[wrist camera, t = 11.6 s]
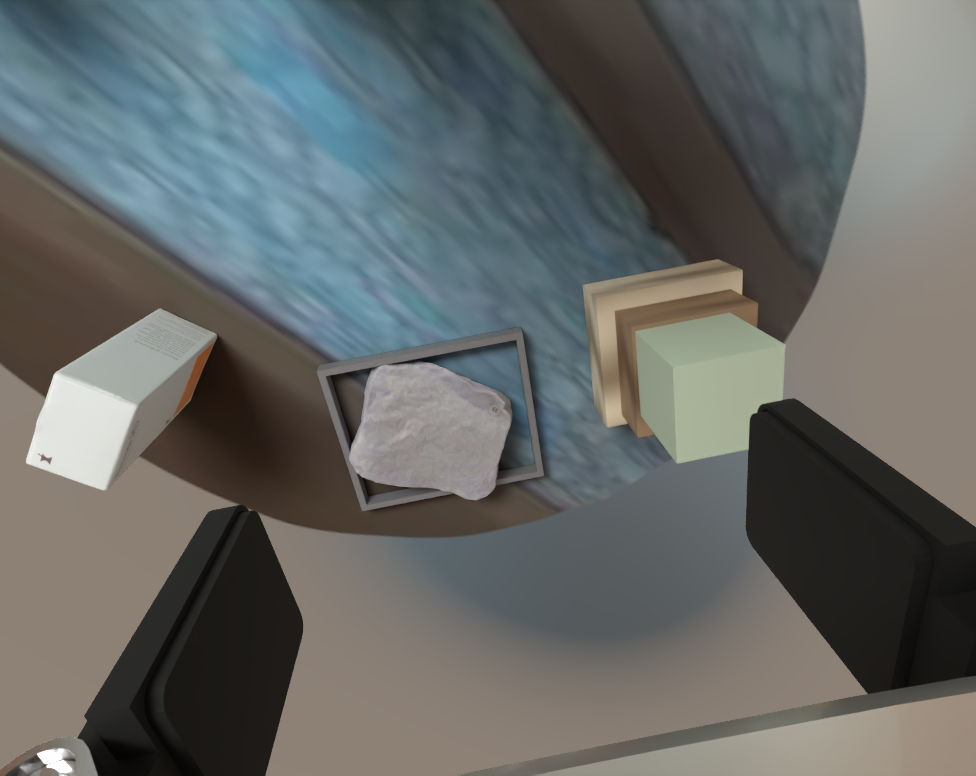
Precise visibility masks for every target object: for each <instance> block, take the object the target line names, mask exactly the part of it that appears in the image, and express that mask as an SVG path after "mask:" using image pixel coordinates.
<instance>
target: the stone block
mask: <svg viewBox="0 0 976 776" xmlns="http://www.w3.org/2000/svg"><path fill="white" fill-rule="evenodd" d="M364 394H365V400H364V407H363V411H362V416H361V424H360V426H359V429H358V431H357V434H356V436H355V439H354V442H353V443H352V446H351V451H350V454H349V460H350V463H351V465H353V467H354V469H355V471H356V472H357V473H358V474H359V475H360V476H361V477H363V478H366V479H369V480H372V481H374V482H376V483H381V484H386V485H395V486H400V487H412V488H418V487H423V488H434V489H439V490H442V491H445V492H452V493H454V494H457V495H459V496H461V497H463V498H465V499H469V500H478V499H481V498H484V497H486V496H488V495H489V494H490V493H491V492H492V491H493V490H494V489H495V485H496V478H497V474H498V463H499V460H500V457H501V453H502V450H503V448H504V444H505V440H506V436H507V434H508V431H509V428H510V425H511V422H512V413H513V412H512V409H511V401H510V400H509V398H508V397H506V396H505V395H504V394H503V393H501V392H500V391H498V390H495V389H493V388H490V387H487V386H485V385H482V384H480V383H477V382H474V381H472V380H470V379H469V378H467V377H463V376H460V375H458V374H456V373H454V372H452V371H450V370H449V369H446V368H443V367H440V366H438V365H435V364H433V363H424V362H423V361H419V360H410V361H406V362H398V363H392V364H387V365H382V366H377V367H372V369H371V372H370V375H369V378H368V380H367V385H366V389H365V392H364Z"/></svg>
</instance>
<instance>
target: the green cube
mask: <svg viewBox="0 0 976 776" xmlns="http://www.w3.org/2000/svg"><path fill="white" fill-rule="evenodd" d="M635 338H636V353H637V367H638V382H639V396H640V410H641V417H642V418H643V419H644V421H645V422H646V423H647V425H648V426H649V427H650V429H651V430H652V431H653V433H654V434H655V435H656V437H657V438H658V439H659V441H660V442H661V443H662V445H663V446H664V447H665V449H666V450H667V451H668V453H669V454H670V455H671V457H672V458H673V459H674V461H675V462H676V463H677V464H678V463H683V462H688V461H693V460H698V459H703V458H708V457H713V456H718V455H723V454H728V453H733V452H738V451H742V450H748V449H749V423H750V417H751V415H752V414H754V413H757V411H758V408H759V406H760V405H762V404H765V403H770V402H775V401H781V400H783V385H784V366H785V346H786V345H785V344H783V343H782V342H780V341H778V340H776V339H775V338H773V337H771V336H770V335H768V334H766V333H764V332H763V331H761V330H759V329H757V328H756V327H754V326H752V325H751V324H749V323H747V322H745V321H744V320H742V319H740V318H739V317H737V316H735V315H733V314H732V313H730V312H729V313H724V314H719V315H714V316H709V317H704V318H699V319H694V320H689V321H684V322H679V323H674V324H669V325H664V326H659V327H654V328H649V329H644V330H639V331H635Z"/></svg>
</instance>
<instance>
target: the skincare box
mask: <svg viewBox="0 0 976 776" xmlns="http://www.w3.org/2000/svg"><path fill="white" fill-rule="evenodd" d="M216 339H217V335H216V334H215V333H213V332H211V331H209V330H207V329H204V328H202V327H200V326H198V325H195V324H193V323H191V322H189V321H187V320H184V319H182V318H180V317H178V316H176V315H174V314H171V313H169V312H167V311H165V310H163V309H158V310H156V311H155V312H153V313H151V314H150V315H148V316H146V317H145V318H143V319H142V320H140V321H138V322H137V323H135V324H134V325H132V326H130V327H129V328H127V329H125V330H124V331H122V332H121V333H119V334H117V335H116V336H114V337H112V338H111V339H109V340H108V341H106V342H104V343H103V344H101V345H99V346H98V347H96V348H95V349H93V350H91V351H90V352H88V353H86V354H85V355H83V356H82V357H80V358H78V359H77V360H75V361H74V362H72V363H70V364H69V365H67V366H65V367H64V368H62V369H60V370H59V371H57V372H56V373H55V374H54V376H53V379H52V382H51V385H50V388H49V391H48V394H47V397H46V401H45V404H44V406H43V408H42V410H41V412H40V415H39V417H38V420H37V423H36V430H35V433H34V436H33V440H32V443H31V446H30V449H29V453H28V456H27V459H26V463H27V464H29V465H32V466H35V467H37V468H40V469H43V470H46V471H49V472H52V473H55V474H58V475H60V476H63V477H66V478H69V479H71V480H74V481H77V482H80V483H83V484H85V485H89V486H91V487H94V488H97V489H101V490H104V491H106V490H108V489H109V487H110V486H111V485H112V484H113V483H114V482H115V481H116V480H117V479H118V478H119V477H120V476H121V475H122V474H123V473H124V472H125V470H126V469H127V468H128V467H129V466H130V465H131V464H132V463H133V462H134V461H135V460H136V459H137V458H138V457H139V455H140V454H141V453H142V452H143V451H144V450H145V449H146V448H147V447H148V446H149V445H150V444H151V442H152V441H153V440H154V439H155V438H156V437H157V436H158V435H159V434H160V433H161V432H162V431H163V430H164V429H165V427H166V426H167V425H168V424H169V423H170V422H171V421H172V420H173V419H174V418H175V417H176V416H177V415H178V414H179V412H180V411H181V410H182V409H183V408H184V407H185V406H186V405H187V404H188V403H189V402H190V401H191V398H192V395H193V393H194V390H195V388H196V385H197V383H198V380H199V378H200V375H201V373H202V370H203V368H204V365H205V363H206V361H207V359H208V357H209V354H210V352H211V350H212V348H213V345H214V343H215V341H216Z"/></svg>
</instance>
